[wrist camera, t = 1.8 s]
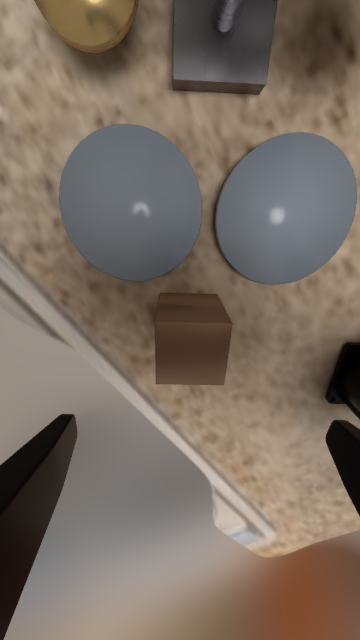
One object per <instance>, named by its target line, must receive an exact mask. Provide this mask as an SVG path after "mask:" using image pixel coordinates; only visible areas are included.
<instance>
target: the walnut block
mask: <svg viewBox="0 0 360 640" xmlns="http://www.w3.org/2000/svg"><path fill="white" fill-rule="evenodd" d="M231 330H232V322H231V320H230V318H229V316H228V314H227V312H226V310H225V308H224V306H223V304H222V303H221V301H220V299H219V297H218V295H217V294H185V293H160V298H159V303H158V309H157V315H156V320H155V353H156V384H182V385H224V381H225V374H226V367H227V359H228V352H229V345H230V337H231Z"/></svg>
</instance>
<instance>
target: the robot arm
mask: <svg viewBox="0 0 360 640" xmlns="http://www.w3.org/2000/svg"><path fill="white" fill-rule="evenodd" d="M350 348H351V349H350ZM349 349H350V350H349ZM325 398H326V400H327V401H328V402H329V403H331V404H346V405H347V406H348V407H349V408H350V409H351V410H352V412H353V413H354V414H355V415H356V416H357V417H358V418H359V419H360V343H347V344H346V345H345V346H344V347H343V350H342V352H341V355H340V358H339V361H338V364H337V366H336V369H335V372H334V375H333V377H332V380H331V383H330V386H329V389H328V391H327V394H326V397H325ZM76 439H77V426H76V419H75V416H74V415H73V414H61V415H59V416H58V417H57V418H56V419H55V420H53V421H52V422H51V423H50V424H49V425H48V426H46V427H45V428H44V429H43V430H42V431H40V432H39V433H38V434H37V435H36V436H34V437H33V438H32V439H31V440H30V441H29V442H27V443H26V444H25V445H24V446H23V447H22V448H20V449H19V450H18V451H17V452H15V453H14V454H13V455H12V456H11V457H10V458H9V459H7V460H6V461H5V462H4V463H2V464H1V465H0V640H3V639H4V637H5V634H6V632H7V629H8V626H9V624H10V621H11V619H12V616H13V614H14V611H15V609H16V606H17V604H18V601H19V599H20V596H21V593H22V591H23V588H24V585H25V583H26V581H27V578H28V575H29V573H30V570H31V568H32V565H33V563H34V560H35V558H36V555H37V553H38V550H39V548H40V545H41V542H42V539H43V537H44V535H45V532H46V529H47V527H48V524H49V522H50V519H51V517H52V514H53V512H54V509H55V507H56V504H57V501H58V499H59V496H60V494H61V491H62V488H63V485H64V481H65V478H66V475H67V471H68V467H69V464H70V461H71V457H72V453H73V450H74V446H75V443H76ZM326 443H327V446H328V448H329V451H330V453H331V455H332V458H333V460H334V463H335V465H336V467H337V470H338V472H339V475H340V477H341V479H342V482H343V484H344V486H345V488H346V490H347V492H348V495H349V497H350V499H351V500H352V502H353V504H354V506H355V508H356V510H357V512H358V514H359V516H360V429H359V428H357V427H355V426H354V425H352V424H351V423H349V422H348V421H345V420H334V421H333V422H332V423H331V425H330V427H329V430H328V432H327V434H326Z"/></svg>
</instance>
